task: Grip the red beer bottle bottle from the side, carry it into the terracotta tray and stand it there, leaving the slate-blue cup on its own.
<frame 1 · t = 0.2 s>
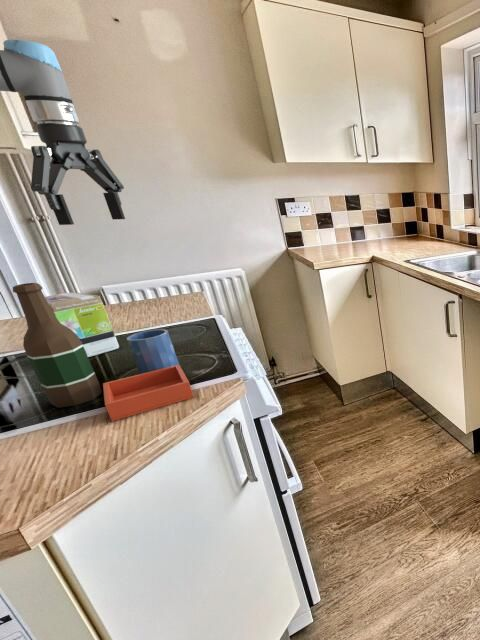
hand: (94, 222, 102), 33 cm above the worktop, tool pointing down, fingers open, 13 cm apart
blue cup: (162, 375, 96), on the worktop
tea box: (84, 351, 112), on the worktop
beer bottle: (78, 399, 86), on the worktop
red tray: (151, 397, 86), on the worktop
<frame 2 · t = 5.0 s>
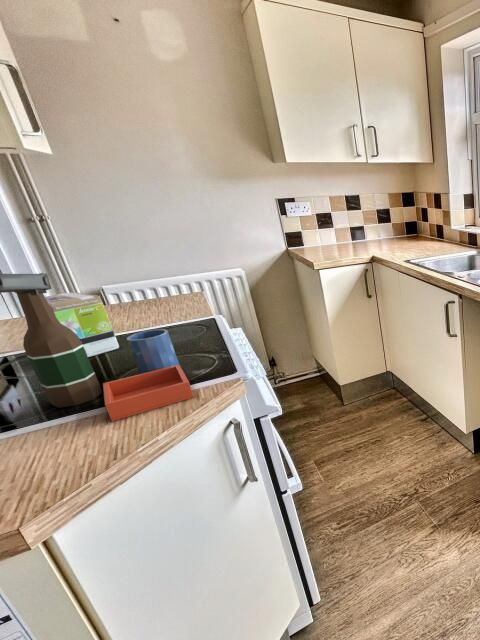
nothing on the worktop moved.
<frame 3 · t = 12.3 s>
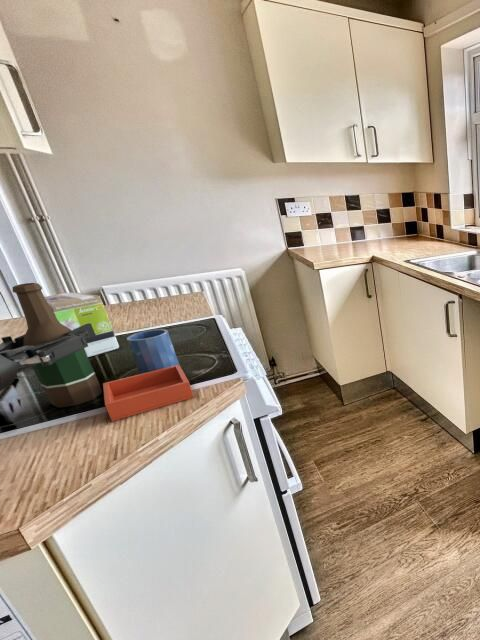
hand: (68, 331, 86), 13 cm above the worktop, tool horizontal, fingers closed on beer bottle, 7 cm apart
beer bottle: (78, 399, 86), on the worktop, touching gripper
everything else where it was.
when the fingers open (13 cm above the worktop, at t = 18.7 s): beer bottle stays where it is, resting on red tray.
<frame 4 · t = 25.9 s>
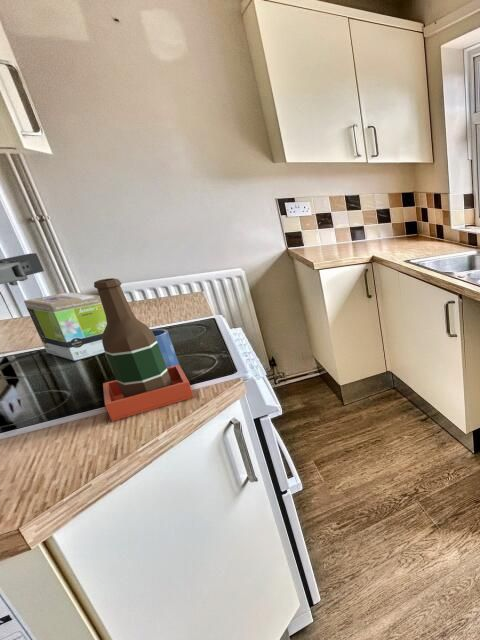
beer bottle: (151, 396, 86), resting on red tray
everything else where it was.
at the end: beer bottle inside the target area in the red tray (0.1 cm from its centre), point 0.3 cm above the red tray's base; beer bottle tilted 0°; blue cup moved 0.0 cm from its start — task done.
